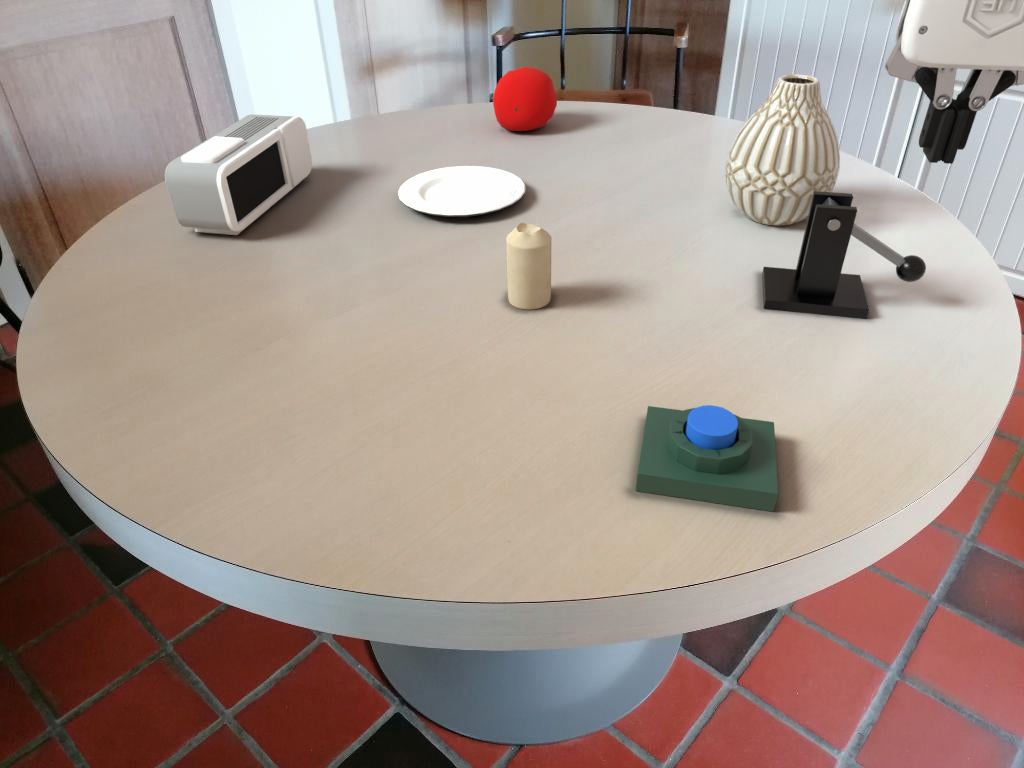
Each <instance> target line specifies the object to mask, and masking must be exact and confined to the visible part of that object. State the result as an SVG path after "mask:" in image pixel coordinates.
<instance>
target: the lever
mask: <svg viewBox="0 0 1024 768" xmlns="http://www.w3.org/2000/svg"><path fill="white" fill-rule="evenodd" d="M822 205H835V206H841V205H840V204H838V203H837V202H835V201H834V200H832V199H831V198H829V197H828V198H827V199H826V201H825V202H824V203H823V204H822ZM851 236H852V237H853V238H855V239H856V240H858V241H859V242H861V243H862V244H864V245H865V246H867V247H868V248H870V249H871V250H873V251H874V252H876V253H877V254H879V255H880V256H881V257H883V258H884V259H886V260H887V261H889V262H890V263H892V264H893V265H895V273H896V275H897V277H898V278H899V279H900V280H901V281H903V282H906V283H914V282H917V281H919V280H921V279H922V277H924V275H925V274H926V271H927V265H926V262H925V260H924V259H923V258H922V257H920V256H918V255H913V254H911V255H910V254H909V255H905V256H903V255H901V254H900V253H899V252H897V251H895V250H894V249H892V248H891V247H890V246H888V245H886V244H885V243H883V242H882V241H881V240H879V239H878V238H876V237H875V236H873V235H872V234H871V233H869V232H868V231H866V230H865V229H863V228H862V227H861V226H859V225H857V224H856V223H854V225H853V229H852V233H851Z"/></svg>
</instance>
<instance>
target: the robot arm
mask: <svg viewBox="0 0 1024 768" xmlns="http://www.w3.org/2000/svg"><path fill="white" fill-rule="evenodd" d="M901 9H902V10H901V12H900V16H899V19H898V25H897V27H896V32H895V45H894V47H893V49H892V51H891V53H890V55H889V57H888V58H887V61H886V62H885V65H884V69H885V70H886V72H887V73H888V75H889V76H890V77H894V78H897V79H900V80H903V81H907V82H912V83H915V84H918V86H919V87H920V89H921V90H922V91H923V93H924V94H925V95H926V97H927V98H928V100H929V103H928V107H927V110H926V114H925V117H924V120H923V124H922V127H921V130H920V133H919V137H918V146H919V148H922V152H923V154H924V156H925V158H926V159H927V161H928V163H930V164H931V163H933V164H937V163H939V162H943V164H947V165H949V164H950V165H952V164H953V163H954V161H955V160H956V159H955V158H956V156H957V153H958V151H959V150H960V151H961V150H963V151H964V149H965V148H966V146H967V143H968V140H969V137H970V133H971V130H972V128H973V125H974V122H975V119H976V116H977V113H978V111H982V110H983V109H984V108H986V106H987V104H988V102H990V101H991V100H993V99H994V98H996V97H997V96H999V95H1001V93H1004V92H1005V91H1006V90H1007V89H1009V88H1010V87H1014V86H1017V87H1018V86H1023V85H1024V0H904V2H903V6H902V8H901ZM958 69H961V70H970V71H969V74H968V76H967V78H966V80H965V82H964V84H963V86H962V88H961V90H960V92H959V93H958V94H957V96H956V98H953V96H954V90H955V85H956V84H955V83H956V78H957V77H956V76H957V71H958Z"/></svg>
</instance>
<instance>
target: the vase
mask: <svg viewBox="0 0 1024 768" xmlns="http://www.w3.org/2000/svg"><path fill="white" fill-rule="evenodd" d="M835 129H836V128H835V126H834V124H833V121H832V118H831V117H830V115H829V113H828V111H827V110H826V108H825V105H824V103H823V99H822V93H821V83H820V80H819V78H817V77H815V76H812V75H807V74H797V73H795V74H785V75H781V76H780V77H779V78H778V79H777V80H776V83H775V84H774V87H773V88H772V91H771V92H770V94H769V96H768V97H767V98H766V100H765V101H764V102H763V103H762V104H761V105H760V106H759V107H758V108H757V109H756V110H755V111H754V112H753V113H752V114H751V115H750V117H749V118H748V119H747V120H746V122H745V123H744V124H743V125H742V126H741V128H740V130H739V132H738V133H737V135H736V137H735V139H734V140H733V143H732V145H731V147H730V150H729V153H728V155H727V159H726V163H725V164H726V165H725V182H726V188H727V192H728V195H729V197H730V199H731V201H732V203H733V204H734V206H735V207H736V209H738V211H739V212H741V214H743V216H745V217H746V218H747V219H749V220H751V221H752V222H755V223H758V224H762V225H768V226H779V227H781V226H782V227H783V226H789V225H794V224H797V223H799V222H801V221H803V220H806V219H808V214H809V210H810V205H811V201H812V197H813V192H814V191H819V192H833V191H834V188H835V186H836V184H837V181H838V178H839V173H840V168H841V155H840V145H839V139H838V135H837V132H836V130H835Z"/></svg>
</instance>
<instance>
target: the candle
mask: <svg viewBox="0 0 1024 768" xmlns="http://www.w3.org/2000/svg"><path fill="white" fill-rule="evenodd" d="M552 238H553V237H552V235H551V234H550V233H549V232H548V231H547V230H545V229H544V228H543V227H540V226H536V225H534V224H532V223H525V222H520V223H518V224H517V225H516V227H514V228H513V230H512V231H510V232H509V233H508V234H507V236H506V240H505V243H506V275H507V277H506V279H507V299H508V302H509V304H510V305H512V307H515V308H517V309H520V310H536V309H541V308H544V307H546V306H548V305H549V303H550V302H551V299H552V248H553V247H552V246H553V245H552V242H553V241H552Z"/></svg>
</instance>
